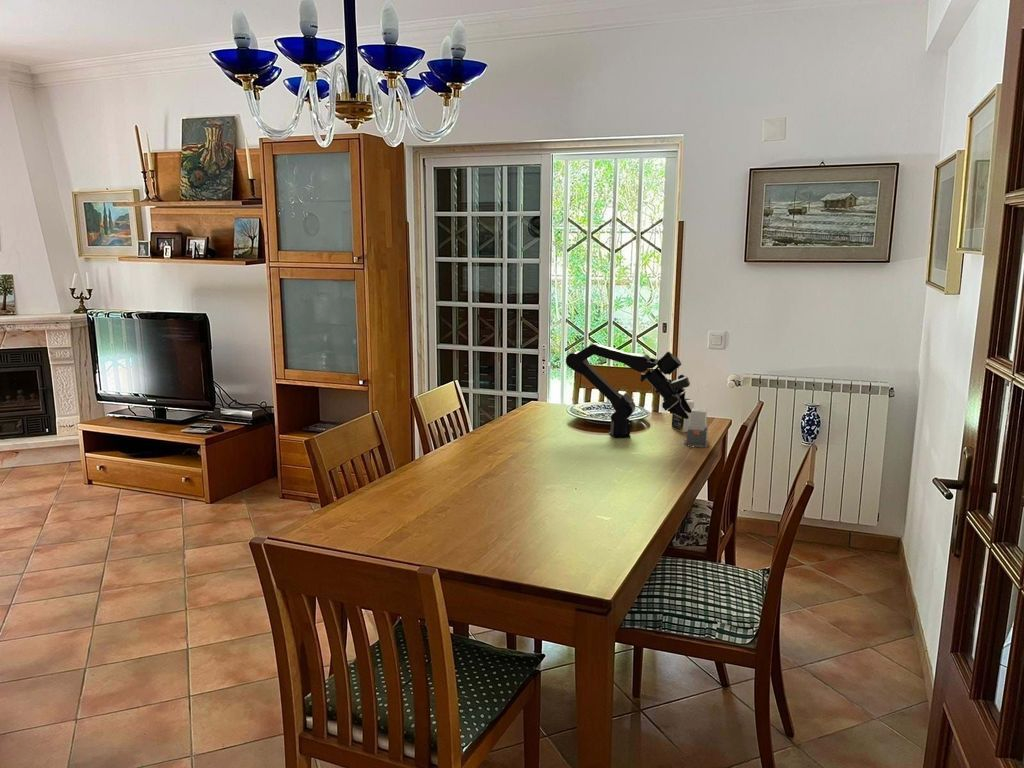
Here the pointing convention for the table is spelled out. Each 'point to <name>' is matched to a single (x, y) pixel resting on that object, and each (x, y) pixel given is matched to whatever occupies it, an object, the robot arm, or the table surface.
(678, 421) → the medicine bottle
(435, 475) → the table surface
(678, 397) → the robot arm
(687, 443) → the base
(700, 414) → the column
